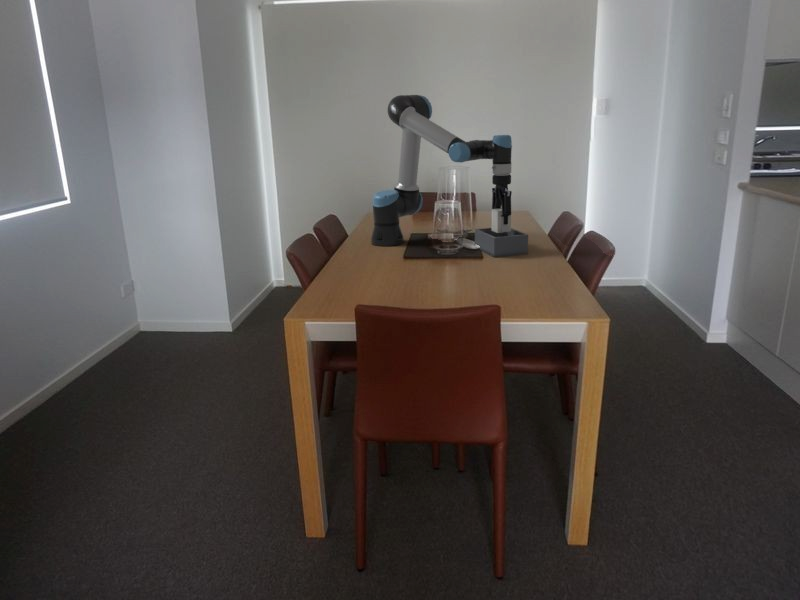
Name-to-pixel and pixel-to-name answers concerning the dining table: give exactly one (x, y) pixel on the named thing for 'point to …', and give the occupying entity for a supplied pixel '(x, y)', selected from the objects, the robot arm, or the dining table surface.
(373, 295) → the dining table surface
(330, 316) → the dining table surface
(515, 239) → the bin
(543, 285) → the dining table surface
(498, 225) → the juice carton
